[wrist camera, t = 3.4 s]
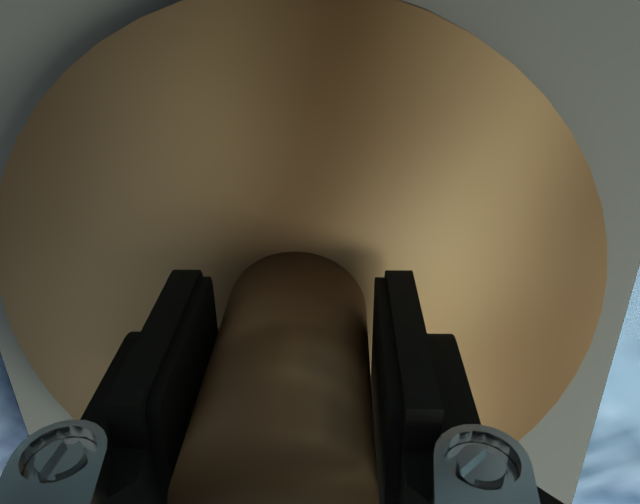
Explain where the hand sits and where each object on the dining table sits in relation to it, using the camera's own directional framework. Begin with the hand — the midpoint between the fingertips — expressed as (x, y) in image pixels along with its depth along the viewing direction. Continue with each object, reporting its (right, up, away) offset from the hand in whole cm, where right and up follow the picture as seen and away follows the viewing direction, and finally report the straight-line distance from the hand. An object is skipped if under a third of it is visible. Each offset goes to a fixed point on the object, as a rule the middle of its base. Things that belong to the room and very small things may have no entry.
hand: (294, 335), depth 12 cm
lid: (0, +1, +1) cm, 2 cm away
